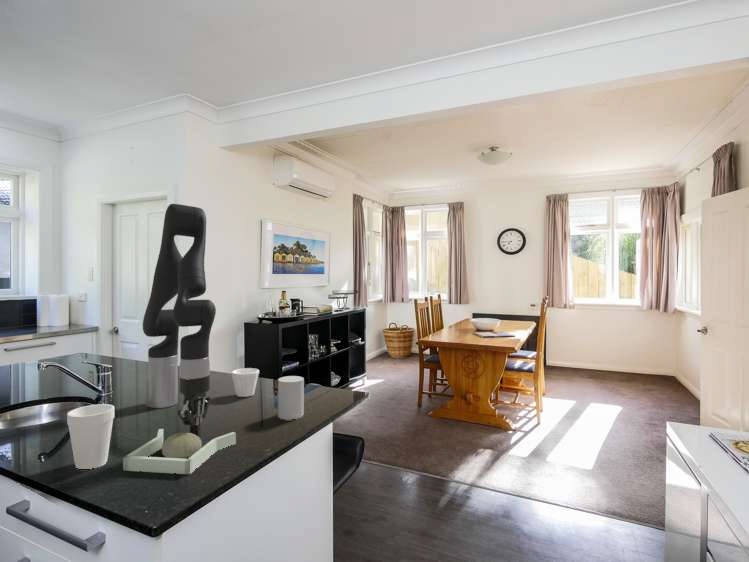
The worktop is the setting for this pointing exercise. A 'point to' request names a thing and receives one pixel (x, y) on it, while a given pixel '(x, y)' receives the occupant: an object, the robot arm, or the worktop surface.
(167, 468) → the flared u-shaped rail
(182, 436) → the sea urchin shell
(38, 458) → the worktop surface
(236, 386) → the cup
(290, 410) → the cup
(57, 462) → the worktop surface
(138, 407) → the worktop surface
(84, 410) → the foam cup
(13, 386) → the worktop surface
